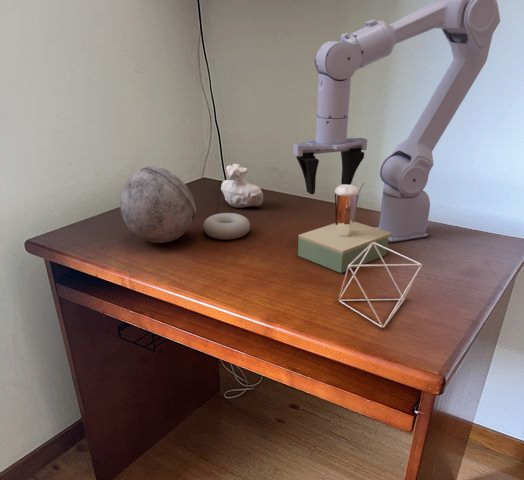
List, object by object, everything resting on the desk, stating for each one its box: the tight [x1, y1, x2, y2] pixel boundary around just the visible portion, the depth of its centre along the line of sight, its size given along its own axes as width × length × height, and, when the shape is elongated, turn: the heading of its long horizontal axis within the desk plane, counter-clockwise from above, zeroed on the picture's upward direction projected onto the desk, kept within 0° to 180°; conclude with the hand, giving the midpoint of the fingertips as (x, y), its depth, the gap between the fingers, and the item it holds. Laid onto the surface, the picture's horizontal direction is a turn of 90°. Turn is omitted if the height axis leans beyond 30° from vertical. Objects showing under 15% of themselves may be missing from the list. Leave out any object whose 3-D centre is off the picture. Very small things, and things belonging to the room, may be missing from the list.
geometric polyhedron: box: [338, 242, 423, 329], centre depth 85 cm, size 12×11×9 cm
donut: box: [202, 212, 251, 241], centre depth 116 cm, size 10×4×10 cm
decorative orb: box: [119, 165, 197, 244], centre depth 109 cm, size 15×14×15 cm
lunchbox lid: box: [298, 220, 391, 254], centre depth 104 cm, size 14×11×1 cm
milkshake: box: [334, 182, 365, 236], centre depth 102 cm, size 4×5×10 cm
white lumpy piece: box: [220, 163, 264, 209], centre depth 130 cm, size 12×8×11 cm
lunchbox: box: [297, 237, 389, 274], centre depth 105 cm, size 13×11×4 cm
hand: (328, 190), depth 107 cm, fingers open, 7 cm apart
